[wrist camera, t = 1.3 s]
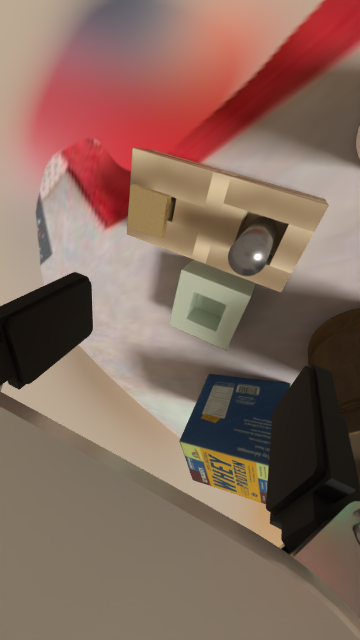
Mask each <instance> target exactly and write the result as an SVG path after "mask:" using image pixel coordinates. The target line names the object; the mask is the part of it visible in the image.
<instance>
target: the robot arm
mask: <svg viewBox="0 0 360 640" xmlns="http://www.w3.org/2000/svg"><path fill="white" fill-rule="evenodd" d="M92 330H93V318H92V288H91V282H90V281H89V278H88V277H87V276H84V275H82V274H79V273H76V272H74V273H71V274H69V275H67V276H65V277H62V278H60V279H58V280H56V281H54V282H52V283H49V284H47V285H45V286H43V287H41V288H39V289H36V290H34V291H32V292H30V293H28V294H26V295H24V296H21V297H19V298H17V299H15V300H13V301H11V302H9V303H7V304H4V305H2V306H0V640H360V483H359V478H358V474H357V469H356V465H355V461H354V456H353V452H352V447H351V443H350V438H349V434H348V429H347V425H346V421H345V418H344V417H343V416H342V415H341V414H340V409H339V404H338V400H337V395H336V390H335V385H334V381H333V376H332V372H331V371H330V370H328V369H325V368H322V367H320V366H317V365H315V364H314V365H312V366H311V367H309V366H305V367H304V368H303V370H302V371H301V372H300V374H299V375H298V377H297V378H296V379H295V381H294V382H293V384H292V385H291V386H290V388H289V389H288V390H287V392H286V393H285V395H284V396H283V397H282V399H281V400H280V402H279V403H278V404H277V406H276V407H275V409H274V411H273V415H272V425H271V439H270V453H269V467H268V482H267V496H266V509H267V510H268V511H270V512H271V514H270V524H272V525H274V526H276V527H278V528H279V529H281V530H282V541H283V543H284V544H283V545H282V546H280V547H279V548H278V547H277V546H275V545H273V544H272V543H271V542H269V541H267V540H266V539H264V538H263V537H261V536H259V535H258V534H256V533H254V532H253V531H251V530H249V529H248V528H246V527H244V526H242V525H241V524H239V523H237V522H236V521H234V520H232V519H230V518H229V517H226V516H225V515H223V514H222V513H220V512H218V511H216V510H214V509H213V508H211V507H209V506H208V505H206V504H204V503H203V502H201V501H199V500H197V499H195V498H193V497H192V496H190V495H188V494H186V493H184V492H182V491H181V490H179V489H177V488H175V487H174V486H172V485H170V484H168V483H166V482H164V481H163V480H161V479H159V478H157V477H155V476H153V475H152V474H150V473H148V472H146V471H145V470H143V469H141V468H139V467H137V466H136V465H133V464H132V463H130V462H128V461H127V460H125V459H123V458H121V457H119V456H117V455H116V454H114V453H112V452H110V451H108V450H107V449H105V448H103V447H101V446H99V445H97V444H96V443H94V442H92V441H90V440H88V439H86V438H85V437H83V436H81V435H79V434H77V433H75V432H74V431H72V430H70V429H68V428H66V427H64V426H63V425H61V424H59V423H57V422H55V421H53V420H52V419H50V418H48V417H46V416H44V415H42V414H41V413H39V412H37V411H35V410H33V409H31V408H29V407H27V406H26V405H24V404H22V403H20V402H18V401H16V400H15V399H13V398H11V397H9V396H7V395H5V394H4V393H2V392H1V389H2V385H3V383H5V382H6V381H8V383H9V384H10V385H12V386H13V387H15V388H18V389H21V388H22V387H23V386H24V385H26V384H30V383H31V382H33V381H34V380H35V379H37V378H38V377H39V376H40V375H41V374H43V373H44V372H45V371H46V370H48V369H49V368H50V367H51V366H52V365H54V364H55V363H56V362H57V361H59V360H60V359H61V358H62V357H63V356H65V355H66V354H67V353H68V352H70V351H71V350H72V349H73V348H74V347H75V346H77V345H78V344H80V343H81V342H82V341H83V340H84V339H86V338H87V337H88V336H89V335H90V334H91V332H92Z"/></svg>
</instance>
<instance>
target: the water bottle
mask: <svg viewBox="0 0 360 640" xmlns="http://www.w3.org/2000/svg"><path fill="white" fill-rule="evenodd" d="M356 149H357V153H358V156H359V158H360V126H359V129H358V132H357V137H356Z"/></svg>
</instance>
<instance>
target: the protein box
mask: <svg viewBox="0 0 360 640" xmlns="http://www.w3.org/2000/svg"><path fill="white" fill-rule="evenodd" d="M290 386H291V384H288V383H280V382H271V381H263V380H254V379H246V378H237V377H229V376H221V375H212V374H209V376H208V378H207V380H206V382H205V385H204V387H203V389H202V391H201V394H200V396H199V398H198V400H197V403H196V405H195V407H194V409H193V412H192V414H191V416H190V418H189V421H188V423H187V425H186V427H185V430H184V432H183V434H182V436H181V439H180V441H179V442H180V444H181V447H182V450H183V452H184V455H185V458H186V461H187V464H188V467H189V470H190V473H191V476H192V479H193V480H194V481H197V482H200V483H204V484H207V485H210V486H213V487H216V488H219V489H222V490H225V491H228V492H231V493H234V494H237V495H240V496H243V497H245V498H249V499H252V500H255V501H258V502H261V503H264V504H266V496H267V482H268V467H269V453H270V439H271V425H272V415H273V411H274V409H275V407H276V406H277V404H278V403H279V402H280V400H281V399H282V397H283V396H284V395H285V393H286V392H287V390H288V389H289V388H290Z"/></svg>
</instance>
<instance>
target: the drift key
mask: <svg viewBox="0 0 360 640" xmlns="http://www.w3.org/2000/svg"><path fill="white" fill-rule="evenodd" d="M171 197H172V196H171V195H168V194H165V193H162V192H158V191H155V190H152V189H149V188H146V187H143V186H140V185H137V184H132V185H130V199H129V213H128V227H130V228H132V229H135V230H138V231H140V232H143V233H146V234H149V235H151V236H154V237H157V238H159V239H162V238H164V237H165V233H166V227H167V221H168V219H169V218H171V217H173V215H174V209H175V204H176V200H175V199H172V198H171Z"/></svg>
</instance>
